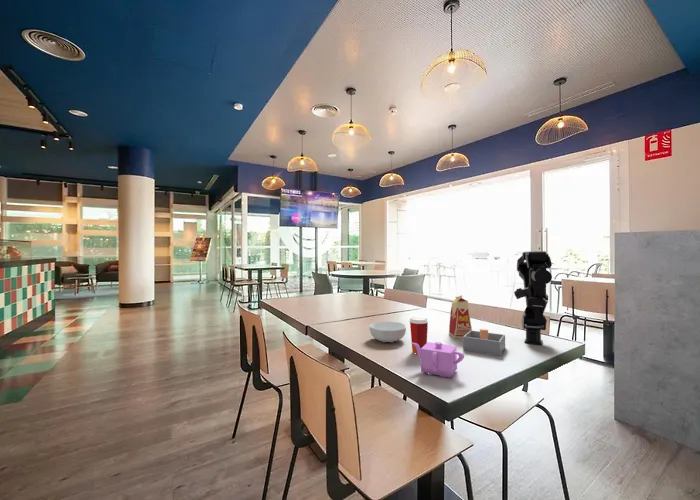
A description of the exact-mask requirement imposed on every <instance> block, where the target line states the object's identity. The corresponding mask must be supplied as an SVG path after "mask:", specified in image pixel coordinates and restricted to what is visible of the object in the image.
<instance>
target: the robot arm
mask: <svg viewBox="0 0 700 500" xmlns="http://www.w3.org/2000/svg"><path fill="white" fill-rule="evenodd" d="M552 263H553V262H552V259H551V257H550V255H549V254H548V252H547V251H545V250H544V251H543V250H541V251H540V250H537V251H536V250H535V251H532V250H531V251H524V252H522V255H521V256H520V257H519V258H518V259H517V262H516V271H517V272H518V276H519V278H521V279H522V281H523V288H521V287H519V288H516V290H515V291H514V292H513V293H514V296H515V298H516V300H519V299H521V298H525V304H526V305H525V309H524V312H523V314H522V316H521V328H522V329H523V330H525V339H524V343H526V344H532V345H538V346H542V345H543V340H542V333H541V332H542V331H546V330H547V322H548V320H547V318H546V316H545V315H544V312H545V310H546V308H547V305H548V302H549V295H548V294H547V285H548V284H549V283H551V282H552V279H553V275H552V273H551V272H550V271H549V270H547V269H551V268H552Z"/></svg>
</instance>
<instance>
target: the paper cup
mask: <svg viewBox="0 0 700 500" xmlns="http://www.w3.org/2000/svg"><path fill="white" fill-rule="evenodd" d="M408 322H409V325H410V337H411V338H410V339H411V351H412V354H414V353H416V354H415V355H418V353H417V349H416V347H415V346H414V345H413V344H412V343H417V344H418V345H419V346H420V349H421V348H422V347H423V346H424V345H425V344H426V343H428V326H429V325H428V323H429V320H428V318H427V317H425V316H411V317H410V318H409V320H408Z"/></svg>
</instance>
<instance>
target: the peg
mask: <svg viewBox="0 0 700 500" xmlns="http://www.w3.org/2000/svg"><path fill="white" fill-rule="evenodd" d="M479 331H480V339H486V340H488V333H489V329H487V328H480V329H479Z"/></svg>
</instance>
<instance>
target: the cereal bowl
mask: <svg viewBox="0 0 700 500" xmlns="http://www.w3.org/2000/svg"><path fill="white" fill-rule="evenodd" d="M369 332H370V335H371V336H372V338H374V339H376V340H378V341H380V342H381V341H383V342H382V343H384V342H393V343H395V342H394V341H396V342H397V341H399V340H401V339H403V338H404V336H405V335H406V332H407V327H406V325H405V324H404V323H402V322H398V321H386V320H385V321H378V322H373V323H371V324H370V325H369Z"/></svg>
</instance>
